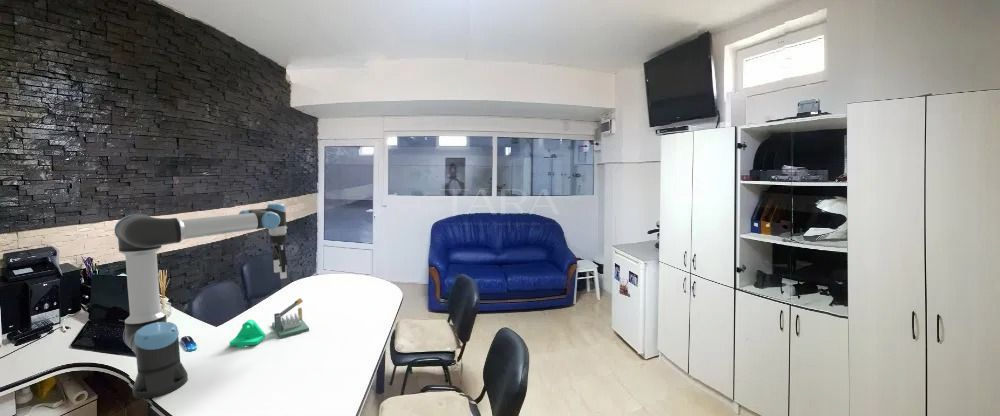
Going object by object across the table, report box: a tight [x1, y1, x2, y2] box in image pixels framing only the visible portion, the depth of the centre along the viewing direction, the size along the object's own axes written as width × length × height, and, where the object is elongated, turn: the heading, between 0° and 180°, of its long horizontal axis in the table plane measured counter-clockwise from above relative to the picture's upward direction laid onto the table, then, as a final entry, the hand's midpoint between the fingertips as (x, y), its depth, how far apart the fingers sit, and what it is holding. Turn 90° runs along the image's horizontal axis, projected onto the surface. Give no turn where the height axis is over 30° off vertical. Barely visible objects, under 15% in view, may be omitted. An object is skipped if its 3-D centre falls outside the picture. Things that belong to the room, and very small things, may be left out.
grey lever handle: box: [275, 297, 303, 317], centre depth 184 cm, size 4×14×2 cm
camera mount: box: [229, 319, 266, 348], centre depth 168 cm, size 12×8×10 cm, turn 98°
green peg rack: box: [271, 306, 310, 339], centre depth 185 cm, size 19×13×9 cm
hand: (280, 275), depth 180 cm, fingers open, 13 cm apart
